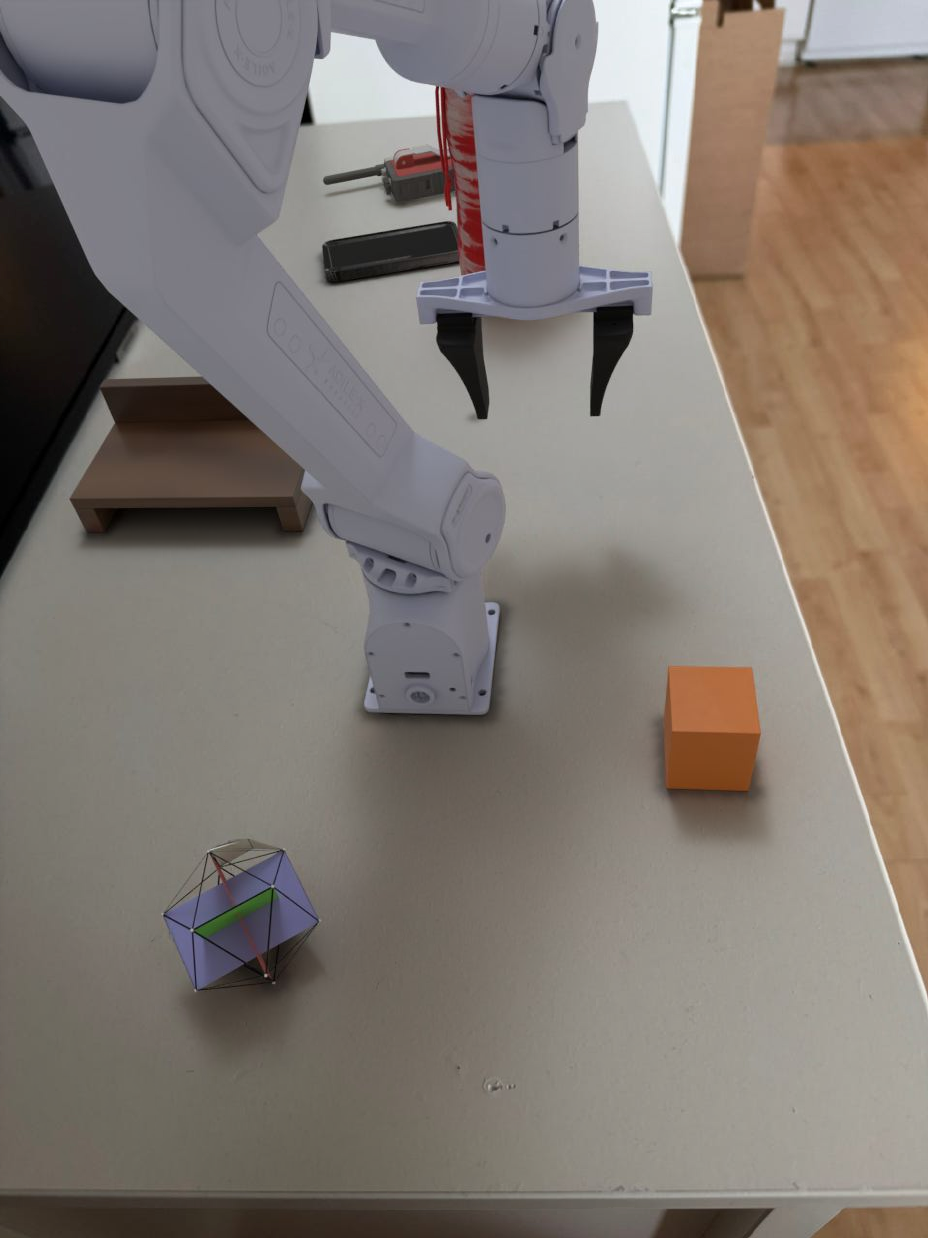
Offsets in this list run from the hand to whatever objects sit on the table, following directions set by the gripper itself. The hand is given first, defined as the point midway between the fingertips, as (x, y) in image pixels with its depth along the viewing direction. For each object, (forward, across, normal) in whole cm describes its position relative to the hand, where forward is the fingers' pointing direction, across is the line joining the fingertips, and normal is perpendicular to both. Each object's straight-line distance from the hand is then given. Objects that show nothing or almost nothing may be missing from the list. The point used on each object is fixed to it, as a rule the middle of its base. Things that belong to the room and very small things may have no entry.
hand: (538, 409), depth 65 cm
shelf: (+9, +28, -3) cm, 29 cm away
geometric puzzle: (+10, +14, +35) cm, 39 cm away
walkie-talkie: (+7, +19, -61) cm, 64 cm away
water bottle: (+9, +4, -34) cm, 36 cm away
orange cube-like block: (+9, -10, +22) cm, 26 cm away
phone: (+9, +18, -43) cm, 48 cm away
